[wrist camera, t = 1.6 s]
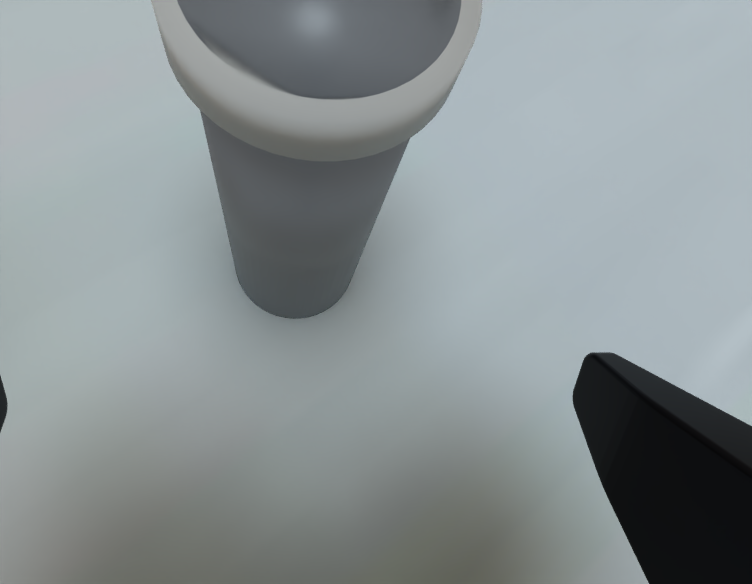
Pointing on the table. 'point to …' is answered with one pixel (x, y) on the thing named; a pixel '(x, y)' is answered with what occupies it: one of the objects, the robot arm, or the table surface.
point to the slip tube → (310, 123)
